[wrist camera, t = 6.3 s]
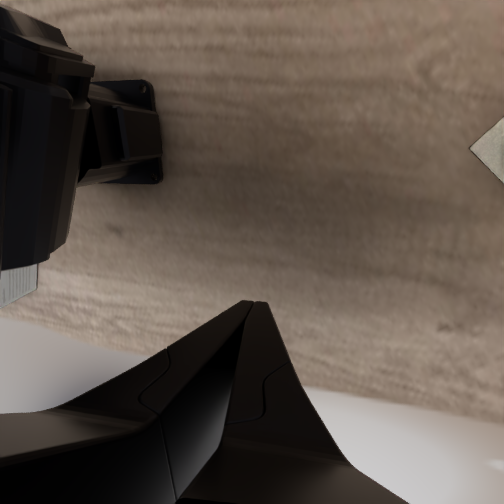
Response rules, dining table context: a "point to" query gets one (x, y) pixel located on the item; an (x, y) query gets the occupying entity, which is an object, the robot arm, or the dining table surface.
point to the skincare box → (17, 284)
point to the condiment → (492, 149)
